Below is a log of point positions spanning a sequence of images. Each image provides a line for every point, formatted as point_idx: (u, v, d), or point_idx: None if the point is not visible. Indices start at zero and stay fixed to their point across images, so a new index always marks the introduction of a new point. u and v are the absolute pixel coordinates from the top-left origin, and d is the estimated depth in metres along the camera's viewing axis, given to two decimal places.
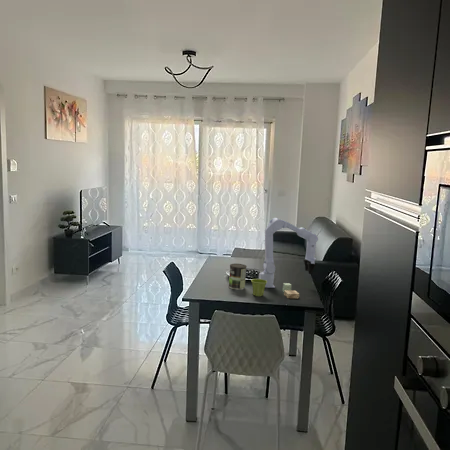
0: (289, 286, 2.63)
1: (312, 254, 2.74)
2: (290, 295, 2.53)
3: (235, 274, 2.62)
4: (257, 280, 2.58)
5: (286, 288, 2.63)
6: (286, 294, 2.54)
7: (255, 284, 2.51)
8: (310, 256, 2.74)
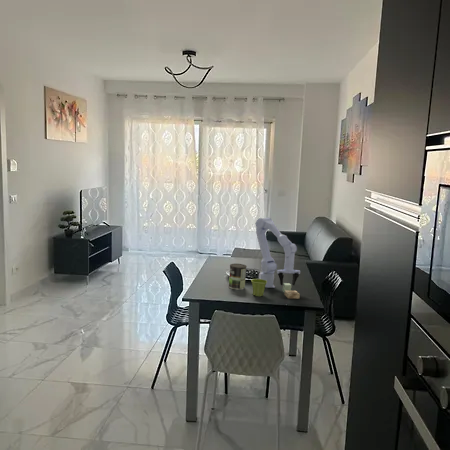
0: (289, 286, 2.63)
1: (285, 265, 2.62)
2: (291, 295, 2.52)
3: (235, 274, 2.62)
4: (257, 280, 2.58)
5: (286, 288, 2.63)
6: (287, 294, 2.54)
7: (255, 284, 2.51)
8: (284, 267, 2.63)
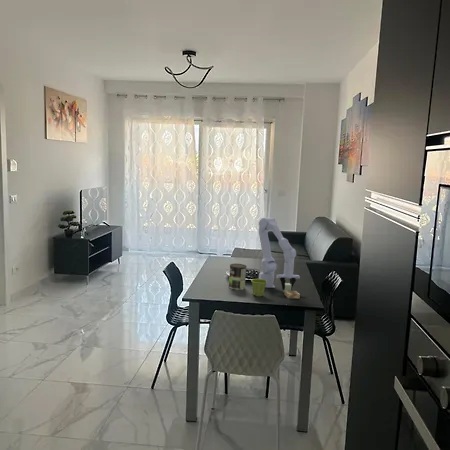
0: (289, 286, 2.63)
1: (284, 270, 2.62)
2: (291, 295, 2.52)
3: (235, 274, 2.62)
4: (257, 280, 2.58)
5: (286, 288, 2.63)
6: (287, 294, 2.54)
7: (255, 284, 2.51)
8: None
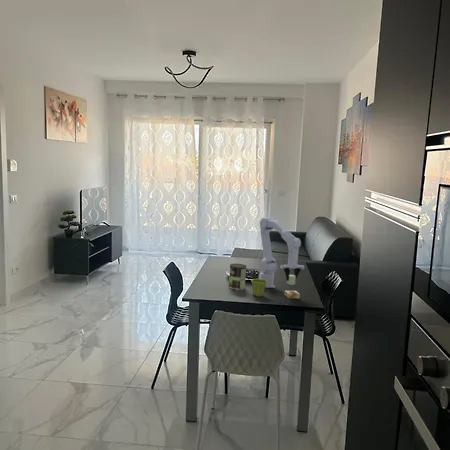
0: (293, 277, 2.56)
1: (288, 260, 2.56)
2: (291, 295, 2.52)
3: (235, 274, 2.62)
4: (257, 280, 2.58)
5: (290, 279, 2.56)
6: (287, 294, 2.54)
7: (255, 284, 2.51)
8: None
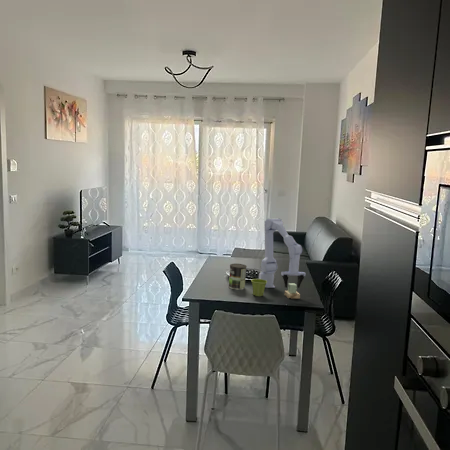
0: (294, 286, 2.54)
1: (289, 267, 2.53)
2: (291, 295, 2.52)
3: (235, 274, 2.62)
4: (257, 280, 2.58)
5: (291, 288, 2.54)
6: (287, 295, 2.54)
7: (255, 284, 2.51)
8: None
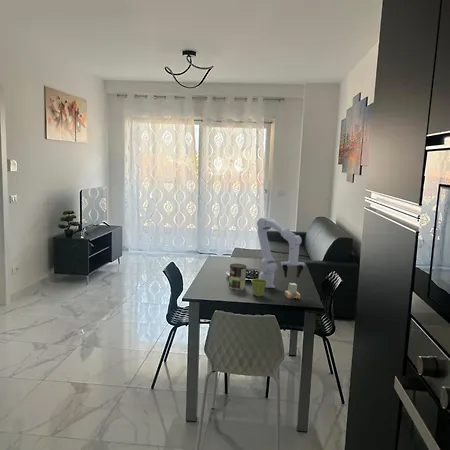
0: (295, 286, 2.54)
1: (289, 257, 2.58)
2: (291, 295, 2.52)
3: (235, 274, 2.62)
4: (257, 280, 2.58)
5: (292, 288, 2.54)
6: (287, 295, 2.53)
7: (255, 284, 2.51)
8: None
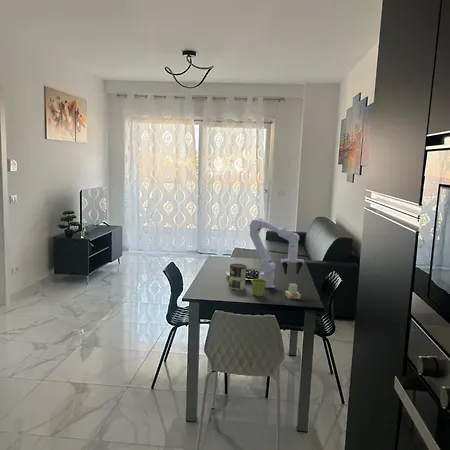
0: (295, 286, 2.54)
1: (288, 254, 2.66)
2: (292, 296, 2.52)
3: (235, 274, 2.62)
4: (257, 280, 2.58)
5: (292, 288, 2.54)
6: (288, 295, 2.53)
7: (255, 284, 2.51)
8: (288, 256, 2.67)
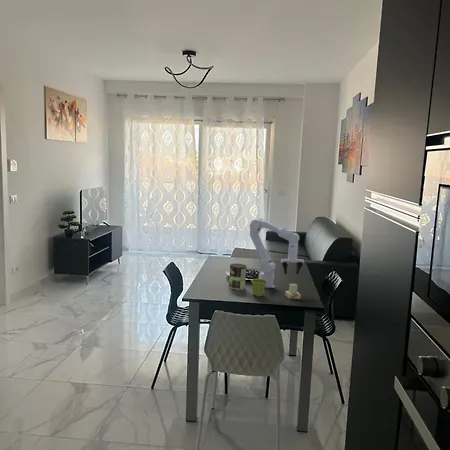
0: (295, 286, 2.53)
1: (288, 254, 2.66)
2: (292, 296, 2.52)
3: (235, 274, 2.62)
4: (257, 280, 2.58)
5: (292, 288, 2.53)
6: (288, 295, 2.53)
7: (255, 284, 2.51)
8: (288, 256, 2.67)
